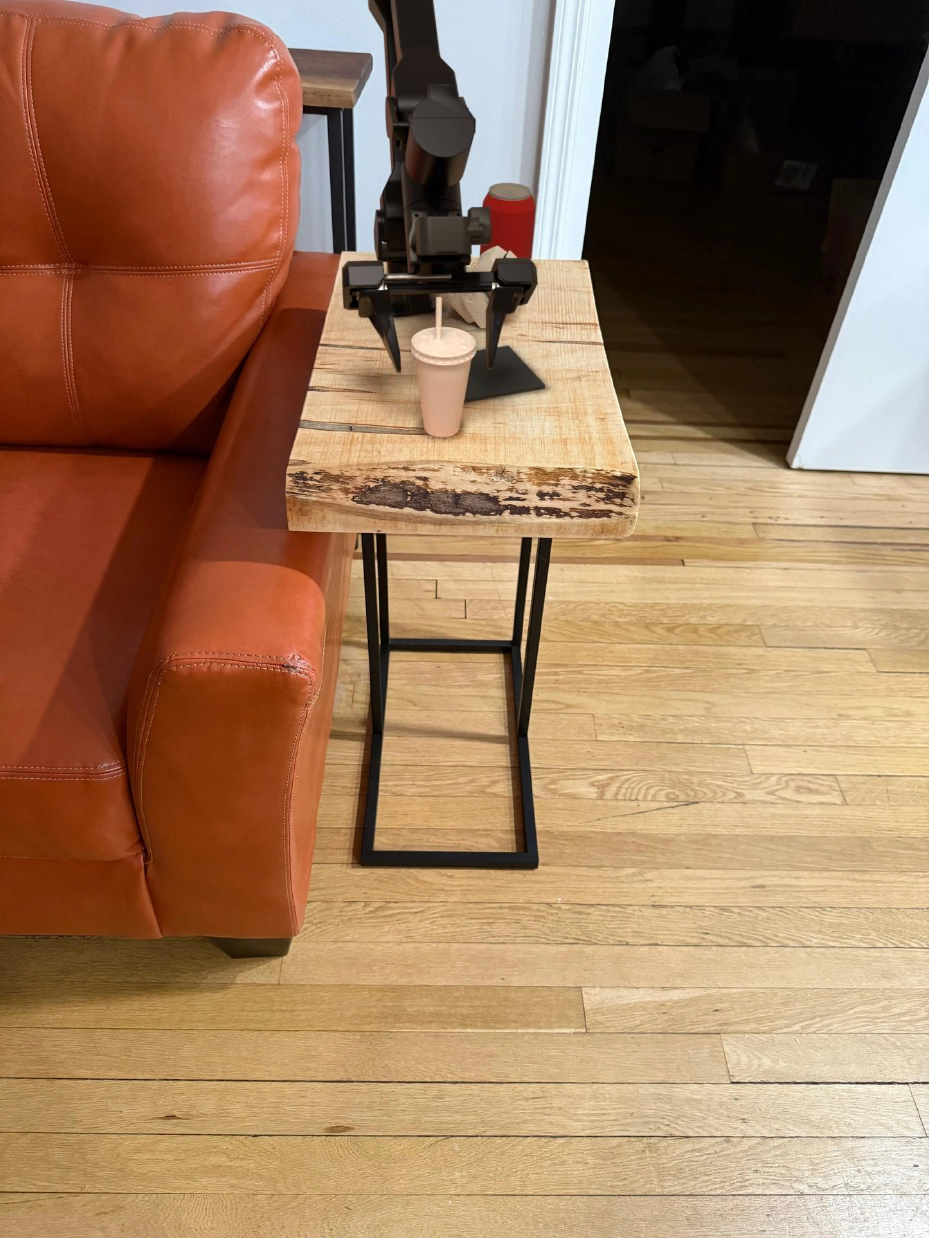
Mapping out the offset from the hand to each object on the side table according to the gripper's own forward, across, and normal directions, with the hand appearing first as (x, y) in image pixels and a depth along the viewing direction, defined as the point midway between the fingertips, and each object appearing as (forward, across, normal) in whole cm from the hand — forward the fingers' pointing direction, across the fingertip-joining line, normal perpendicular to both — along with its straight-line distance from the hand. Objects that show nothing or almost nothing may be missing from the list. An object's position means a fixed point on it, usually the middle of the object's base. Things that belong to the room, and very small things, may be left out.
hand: (444, 370), depth 90 cm
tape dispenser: (-14, +8, +24) cm, 29 cm away
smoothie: (+4, 0, +6) cm, 8 cm away
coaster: (-4, +6, +14) cm, 16 cm away
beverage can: (-21, +13, +31) cm, 39 cm away
